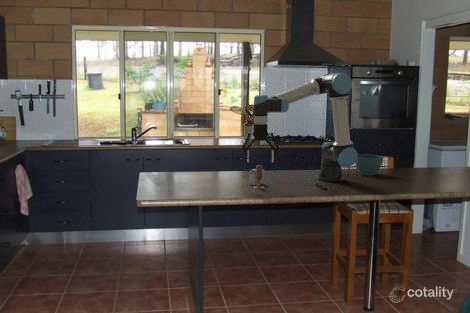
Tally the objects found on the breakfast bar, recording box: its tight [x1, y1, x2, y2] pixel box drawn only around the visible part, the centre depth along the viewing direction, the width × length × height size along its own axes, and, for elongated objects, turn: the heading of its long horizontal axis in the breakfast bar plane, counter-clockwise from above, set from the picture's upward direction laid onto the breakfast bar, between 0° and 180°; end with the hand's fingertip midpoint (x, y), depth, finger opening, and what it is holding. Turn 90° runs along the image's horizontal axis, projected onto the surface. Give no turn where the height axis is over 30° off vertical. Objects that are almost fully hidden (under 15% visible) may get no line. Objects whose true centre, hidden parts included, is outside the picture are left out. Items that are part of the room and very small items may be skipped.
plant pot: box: [354, 153, 384, 177], centre depth 331 cm, size 18×18×12 cm
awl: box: [255, 164, 264, 187], centre depth 281 cm, size 3×3×12 cm
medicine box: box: [248, 168, 265, 186], centre depth 291 cm, size 8×4×9 cm, turn 132°
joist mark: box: [253, 185, 266, 189], centre depth 282 cm, size 6×4×1 cm, turn 89°
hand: (260, 162), depth 280 cm, fingers open, 13 cm apart
